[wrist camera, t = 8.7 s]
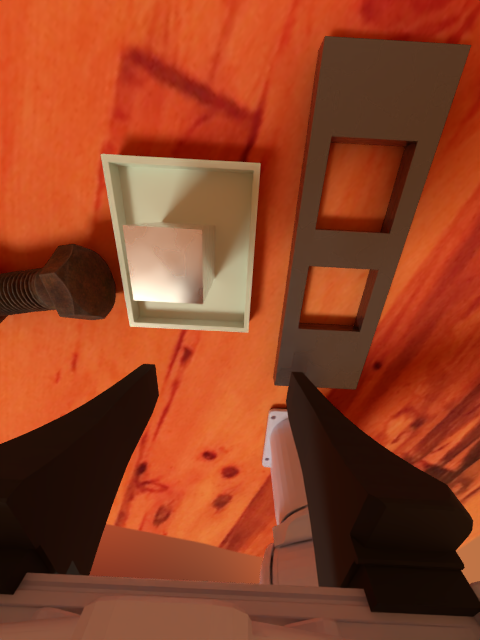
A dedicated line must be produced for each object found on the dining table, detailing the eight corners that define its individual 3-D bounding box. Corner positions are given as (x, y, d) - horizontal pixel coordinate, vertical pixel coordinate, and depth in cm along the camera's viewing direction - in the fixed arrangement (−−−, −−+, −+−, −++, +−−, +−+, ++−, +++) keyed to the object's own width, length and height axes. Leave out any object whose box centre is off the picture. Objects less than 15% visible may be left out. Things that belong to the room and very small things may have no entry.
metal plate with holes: (350, 381, 23) (355, 389, 22) (273, 377, 23) (274, 385, 22) (452, 58, 13) (471, 45, 12) (318, 50, 13) (324, 36, 12)
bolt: (-29, 283, 22) (118, 263, 20) (-30, 336, 21) (120, 319, 20) (-135, 263, 16) (59, 233, 14) (-140, 335, 16) (60, 311, 14)
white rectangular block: (215, 278, 19) (203, 304, 13) (166, 275, 19) (133, 300, 13) (215, 225, 17) (202, 229, 11) (161, 222, 17) (122, 225, 11)
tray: (247, 323, 21) (248, 332, 19) (138, 317, 21) (129, 326, 19) (259, 168, 16) (260, 163, 14) (115, 160, 16) (100, 154, 14)
